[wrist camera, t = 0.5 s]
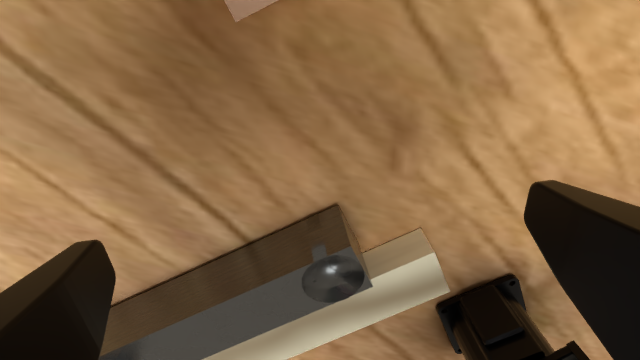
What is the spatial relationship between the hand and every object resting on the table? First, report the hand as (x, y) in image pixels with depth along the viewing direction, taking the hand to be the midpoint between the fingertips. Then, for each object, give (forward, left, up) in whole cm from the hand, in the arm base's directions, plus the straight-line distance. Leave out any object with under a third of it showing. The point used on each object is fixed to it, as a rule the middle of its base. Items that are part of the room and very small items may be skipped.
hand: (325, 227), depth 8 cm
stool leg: (-11, +10, -14) cm, 20 cm away
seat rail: (-16, +9, -14) cm, 23 cm away
